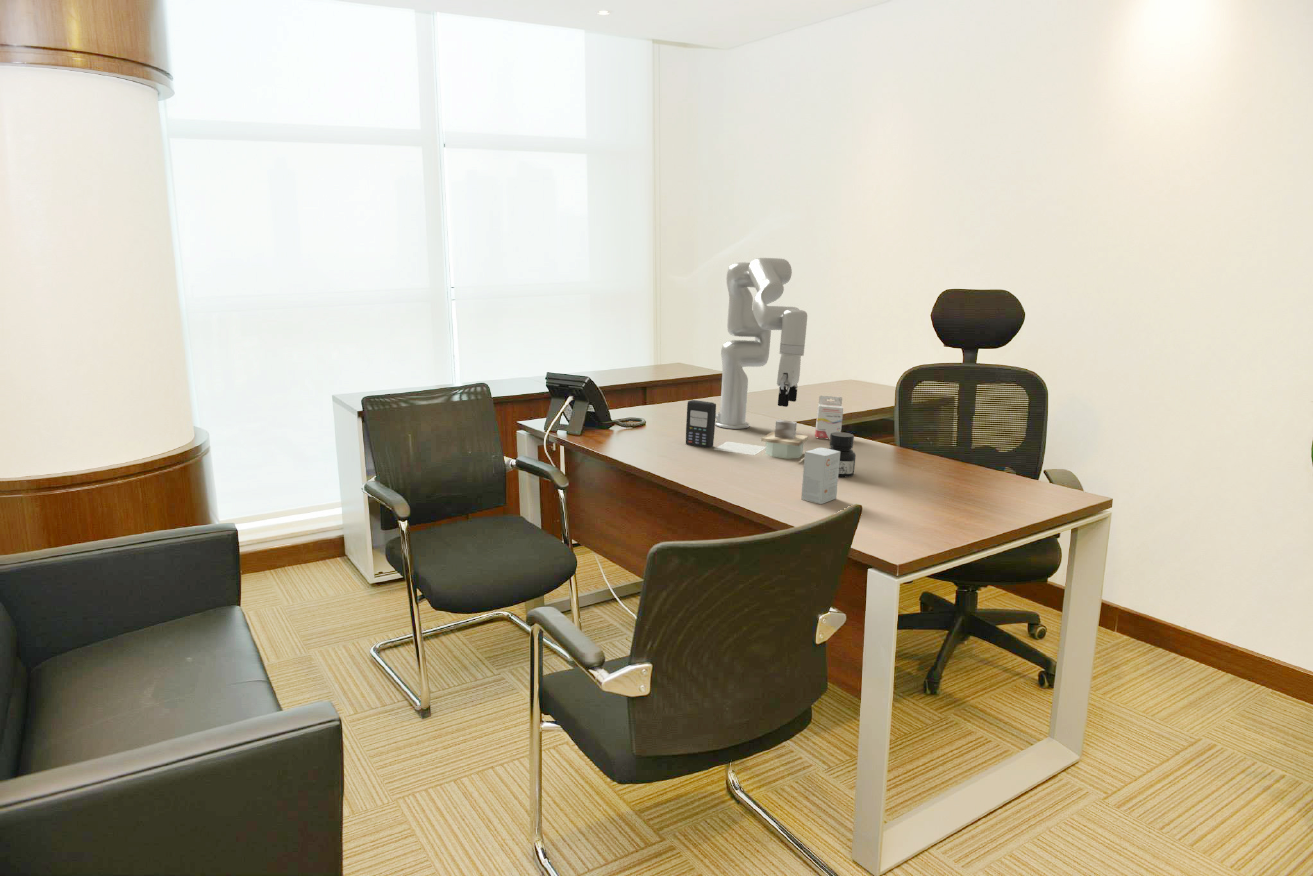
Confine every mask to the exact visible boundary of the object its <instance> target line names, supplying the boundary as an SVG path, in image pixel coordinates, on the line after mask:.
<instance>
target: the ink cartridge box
mask: <svg viewBox="0 0 1313 876" xmlns="http://www.w3.org/2000/svg"><path fill="white" fill-rule="evenodd" d="M818 398H819V399H818V404H817V411H816V423H815V431H814V432H815V434H814V435H815V438H816V437H818V438H830V434H831V433H833V432H842V424H843V415H844V406H843V405H842V404H843V402H842V401H843V397H841V396H832V395H819V397H818ZM831 400H833V401H831ZM818 438H817V439H818Z"/></svg>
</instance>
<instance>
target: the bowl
mask: <svg viewBox="0 0 1313 876" xmlns="http://www.w3.org/2000/svg"><path fill="white" fill-rule="evenodd" d="M804 443H805V442H803V443H802V444H801V445H799V446H794V445H786V444H779V443H771V442H765V447H766V448H765V449H764V450H765V452H764V453H765V454H766V455H768V456H770V457H772V458H773V457H774V458H779V459H800V457H803V453H804Z"/></svg>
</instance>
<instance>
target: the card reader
mask: <svg viewBox="0 0 1313 876" xmlns="http://www.w3.org/2000/svg"><path fill="white" fill-rule="evenodd" d="M716 413H717V404H716V403H715V402H713V401H712V402H711V401H704V400H696V399H692V400H688V401H687V407H686V426H685V445H688V446H694V447H698V448H699V447H700V448H705V449H707V448H709V449H711V448H713V447H714V441H715V429H716V428H715V427H716V425H715V422H716V418H715V416H716Z"/></svg>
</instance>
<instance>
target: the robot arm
mask: <svg viewBox="0 0 1313 876" xmlns="http://www.w3.org/2000/svg"><path fill="white" fill-rule="evenodd" d="M792 270H793V268H792V266H791V264H790V262H789V261H788V260H787V259H785V258H781V257H779V258H777V257H776V258H775V257H758V258H755V259H753V260H752V261H751V262H746V261H744V262H735V263H733V264H730V266H729V267H728V269H727V271H726V286H727V291H728V298H729V299H728V300H729V301H728V311H727V332H728V334H729V335H730V336H732V337H741V338H744V337H745V338H754V340H746V339H742V340H741V339H733V340H728V341H726V342H724V343H723V344H722V346H721V348H720V349H721V351H720V356H721V366H722V367H721V368H722V371H721V372H722V374H721V393H720V409H719V412H716V416H715V427H716V426H717V427H720V428H723V429H734V430H740V429H742V430H743V429H747V428H749V427H750V423H749V422H748V421H746V415H747V402H748V389H749V377H748V375H747V373H746V372H745V370H744V369H743V368H744V367H745V368H746V367H747V368H748V367H749V368H750V367H751V368H752V367H753V368H755V367H756V368H757V367H759V368H760V367H764V366H765V365H766V364H767V363H768V361H769V356H770V347H771V335H772V331H780V343H779V355H780V358H779V363H778V364H779V365H778V370H777V379H776V386H777V387H779V390H778V399H777V406H778V407H783V408H784V407H785V408H786V407H787V408H788V406H789V403H790V402H793V403H794V402H797V398H798V397H797V396H798V384H799V381H800V375H801V374H800V373H801V359H802V358H801V357H804V354H805V346H806V345H805V344H806V335H807V325H808V313H807V312H806V311H805V310H802V309H799V308H798V307H795V306H784V305H783V306H782V305H781V306H780V305H779V306H778V305H769V304H772V303H773V302H774V303H775V302H776V301H777V300H779V299H780V298H781V297H782V295H783V293H784V290H785V289H784V288H785V287H784V285H786V284H787V283H789V282H790V280H791V279H792V276H793V271H792ZM749 288H755V290H756V292H757V293H756V295H755V296H754V298H753V294H752V292H751V290H750V289H749Z"/></svg>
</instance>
